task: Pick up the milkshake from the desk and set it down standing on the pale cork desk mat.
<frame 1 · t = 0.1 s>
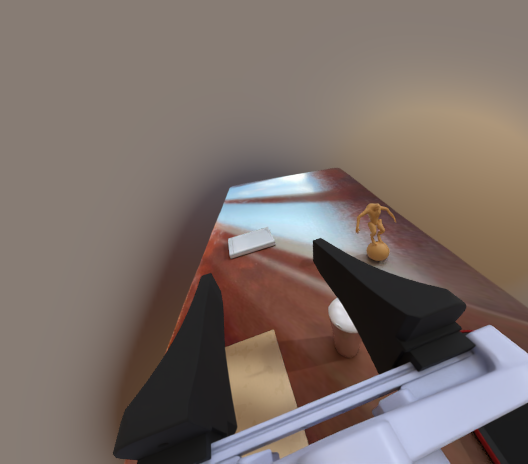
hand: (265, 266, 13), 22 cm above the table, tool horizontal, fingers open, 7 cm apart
figurine: (373, 256, 40), on the table
milkshake: (344, 348, 27), on the table
hard drive: (251, 244, 53), on the table
desk mat: (250, 427, 22), on the table
cell phone: (497, 407, 19), on the table
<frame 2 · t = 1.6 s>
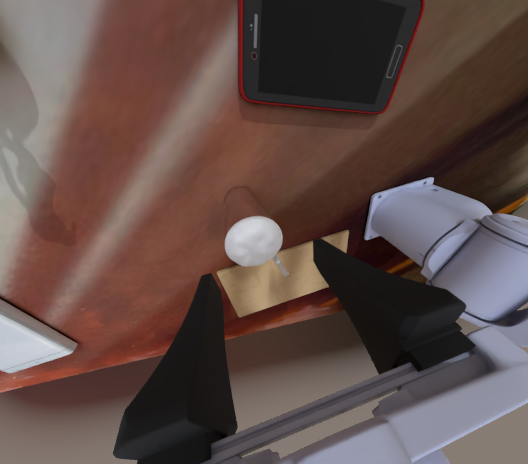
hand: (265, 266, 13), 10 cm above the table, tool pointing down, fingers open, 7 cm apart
milkshake: (241, 201, 21), on the table
hard drive: (7, 329, 23), on the table
desk mat: (288, 275, 30), on the table
cell phone: (325, 53, 16), on the table
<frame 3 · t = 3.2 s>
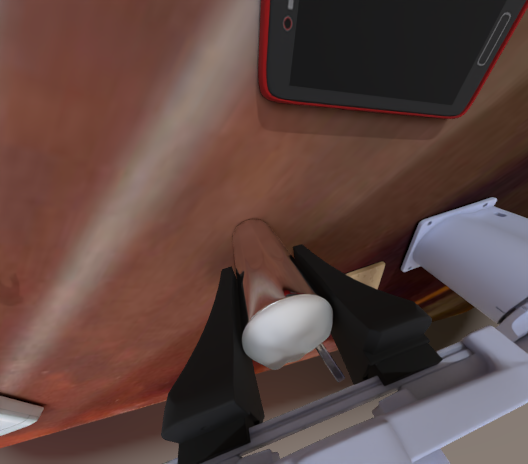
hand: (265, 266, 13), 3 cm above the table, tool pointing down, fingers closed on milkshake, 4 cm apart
milkshake: (254, 236, 16), on the table, touching gripper
desk mat: (306, 314, 25), on the table
cell phone: (392, 25, 10), on the table
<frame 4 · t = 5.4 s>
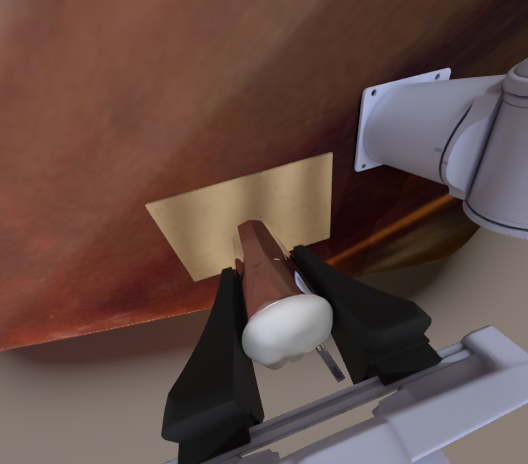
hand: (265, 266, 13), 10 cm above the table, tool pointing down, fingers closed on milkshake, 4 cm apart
milkshake: (254, 236, 16), point 7 cm above the table, touching gripper
desk mat: (254, 222, 23), on the table
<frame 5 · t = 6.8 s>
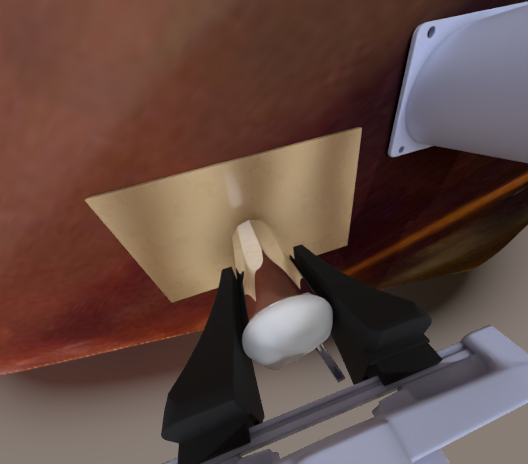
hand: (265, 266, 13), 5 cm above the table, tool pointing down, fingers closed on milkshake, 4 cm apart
milkshake: (254, 236, 16), point 2 cm above the table, touching gripper
desk mat: (251, 226, 17), on the table
when the fingers open (4 cm above the table, at t = 7.7 s): milkshake stays where it is, resting on desk mat.
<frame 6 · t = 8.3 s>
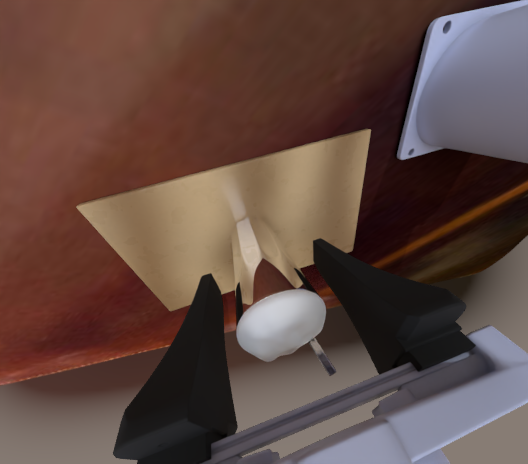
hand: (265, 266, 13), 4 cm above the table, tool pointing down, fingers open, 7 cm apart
milkshake: (253, 234, 16), resting on desk mat
desk mat: (253, 232, 16), on the table
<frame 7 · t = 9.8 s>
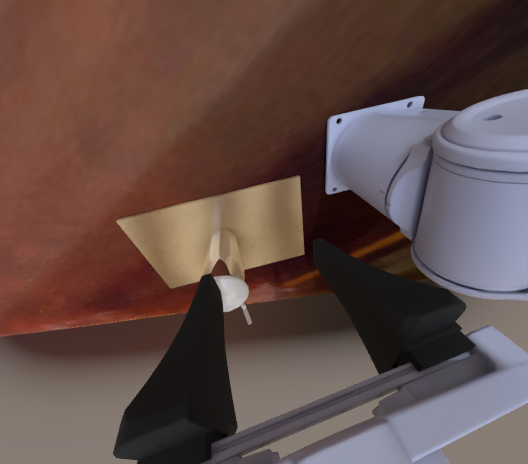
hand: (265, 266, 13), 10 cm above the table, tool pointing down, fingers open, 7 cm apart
milkshake: (226, 240, 24), resting on desk mat
desk mat: (226, 238, 24), on the table
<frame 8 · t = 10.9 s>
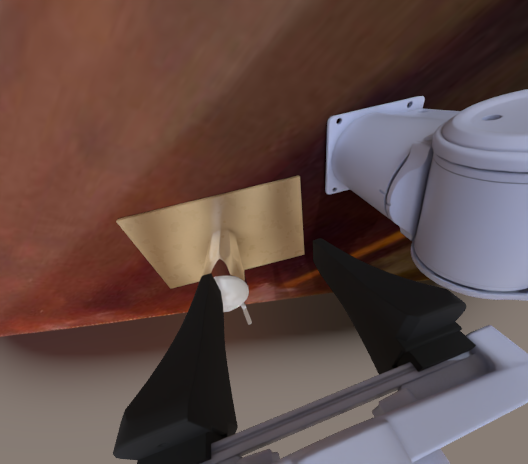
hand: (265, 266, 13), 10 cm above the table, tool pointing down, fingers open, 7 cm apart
milkshake: (226, 240, 24), resting on desk mat
desk mat: (226, 238, 24), on the table
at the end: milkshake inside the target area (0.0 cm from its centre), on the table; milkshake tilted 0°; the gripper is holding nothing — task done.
